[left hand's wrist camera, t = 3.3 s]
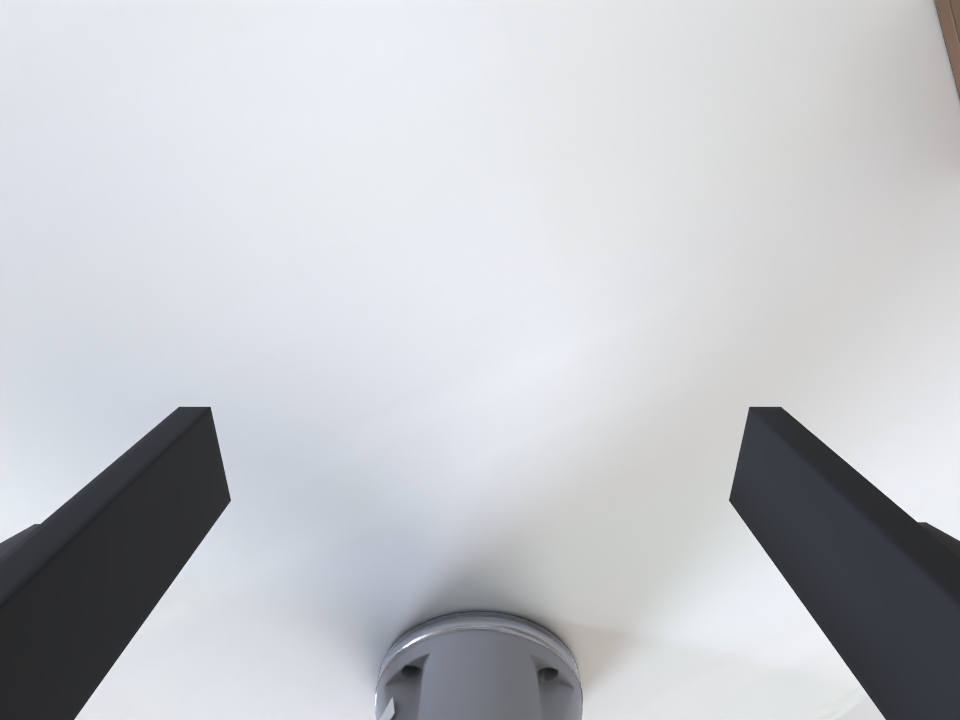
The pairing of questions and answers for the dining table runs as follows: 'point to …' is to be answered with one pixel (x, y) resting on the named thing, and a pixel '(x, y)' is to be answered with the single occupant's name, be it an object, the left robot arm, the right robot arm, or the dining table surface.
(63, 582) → the left robot arm
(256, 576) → the dining table surface
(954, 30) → the chest
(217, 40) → the dining table surface
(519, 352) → the dining table surface
